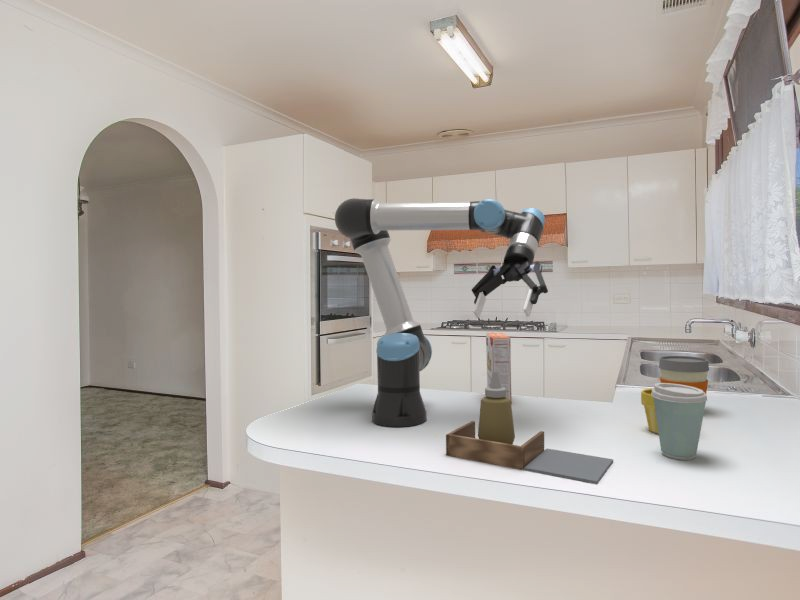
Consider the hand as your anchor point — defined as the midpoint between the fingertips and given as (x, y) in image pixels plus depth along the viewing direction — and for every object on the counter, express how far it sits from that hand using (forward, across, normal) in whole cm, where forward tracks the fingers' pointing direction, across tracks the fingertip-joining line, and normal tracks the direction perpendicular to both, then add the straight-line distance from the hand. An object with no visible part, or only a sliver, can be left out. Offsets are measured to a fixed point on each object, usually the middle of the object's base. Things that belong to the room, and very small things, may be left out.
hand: (500, 313), depth 129 cm
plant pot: (+8, -31, -38) cm, 50 cm away
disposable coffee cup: (+20, -37, -26) cm, 49 cm away
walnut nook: (+32, -4, -10) cm, 34 cm away
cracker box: (-1, +18, -44) cm, 47 cm away
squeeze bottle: (+32, -4, -10) cm, 34 cm away
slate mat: (+32, -20, -11) cm, 39 cm away
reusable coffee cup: (-9, -32, -56) cm, 65 cm away
